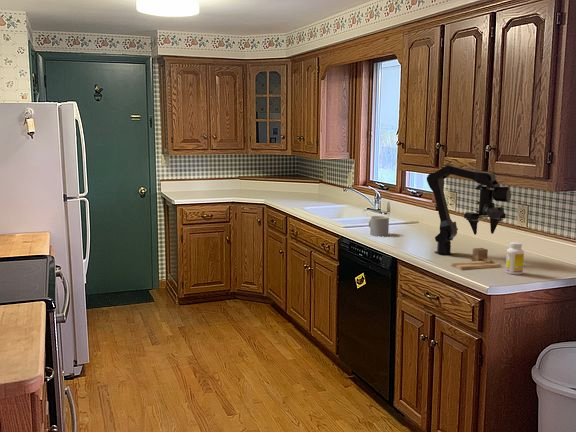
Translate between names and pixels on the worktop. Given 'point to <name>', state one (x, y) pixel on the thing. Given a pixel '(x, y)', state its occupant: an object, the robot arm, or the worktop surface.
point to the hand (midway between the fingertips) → (483, 234)
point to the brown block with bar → (480, 255)
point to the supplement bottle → (514, 259)
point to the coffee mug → (379, 226)
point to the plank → (474, 265)
